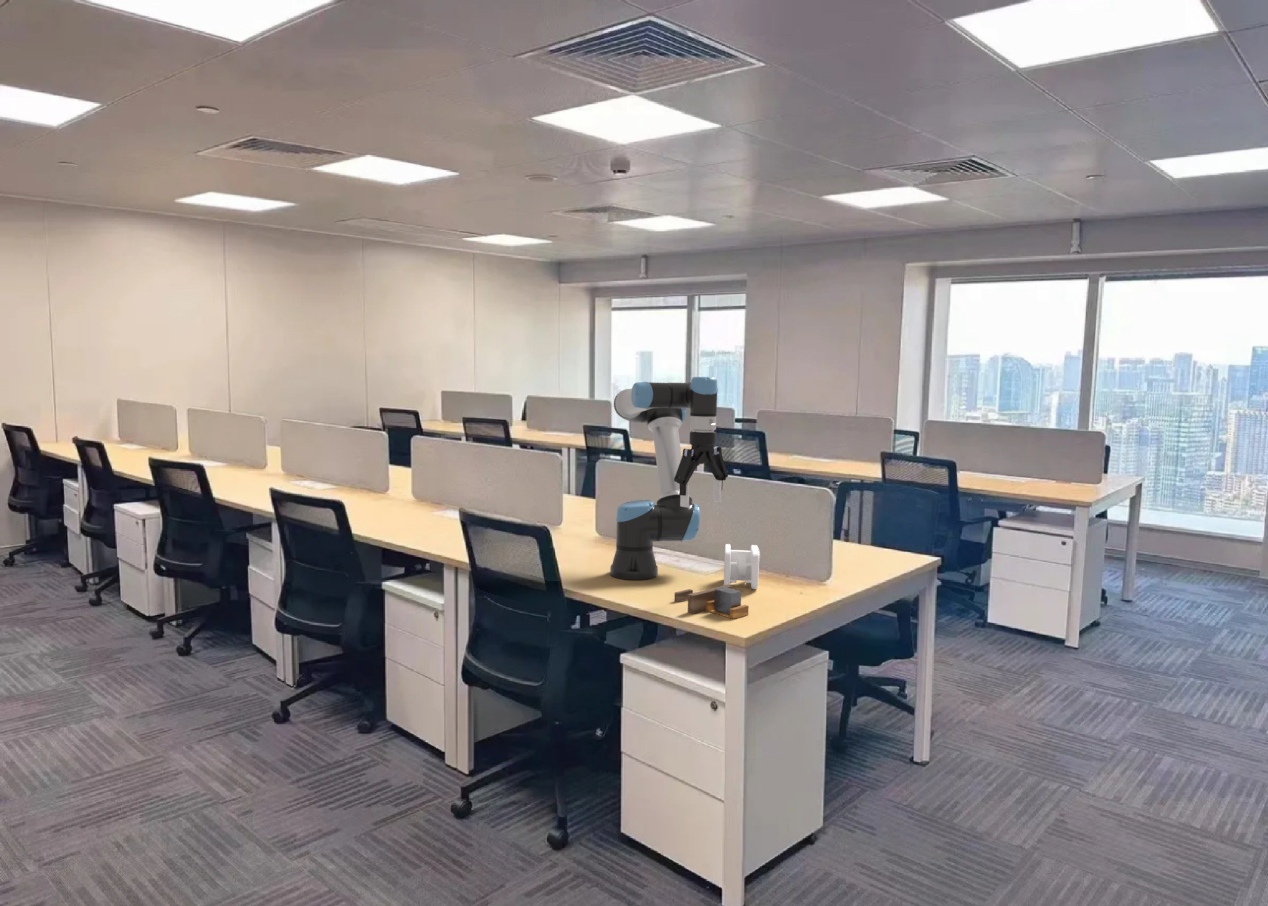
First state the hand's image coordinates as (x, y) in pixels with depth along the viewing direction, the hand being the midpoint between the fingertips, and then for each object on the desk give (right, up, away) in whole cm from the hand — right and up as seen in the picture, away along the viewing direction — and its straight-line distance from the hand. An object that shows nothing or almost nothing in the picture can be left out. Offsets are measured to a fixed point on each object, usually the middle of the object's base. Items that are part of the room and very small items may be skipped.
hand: (701, 504), depth 245 cm
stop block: (+6, -28, -15) cm, 32 cm away
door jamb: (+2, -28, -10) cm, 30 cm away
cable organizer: (+13, -26, +16) cm, 33 cm away
